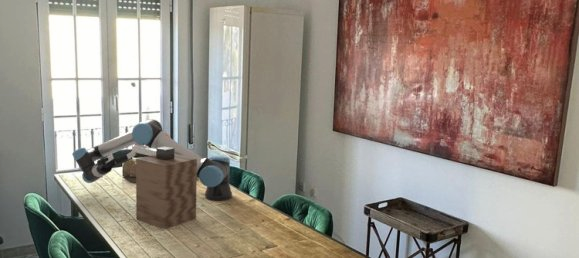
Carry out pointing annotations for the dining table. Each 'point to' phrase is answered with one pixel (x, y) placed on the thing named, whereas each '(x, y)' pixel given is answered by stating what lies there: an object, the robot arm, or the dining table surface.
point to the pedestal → (166, 190)
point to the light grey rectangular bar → (155, 152)
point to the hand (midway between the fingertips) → (123, 154)
